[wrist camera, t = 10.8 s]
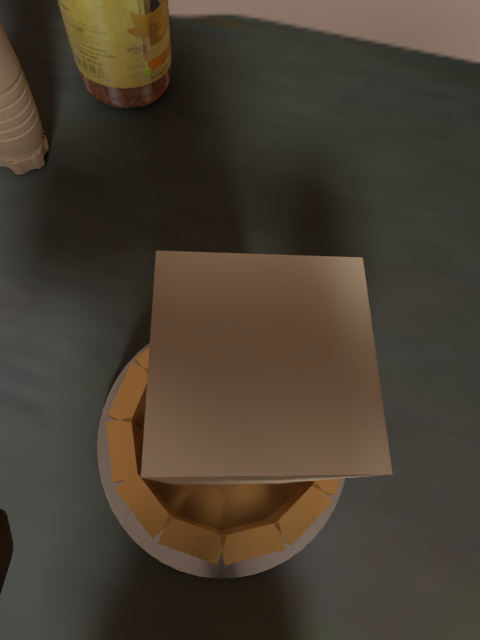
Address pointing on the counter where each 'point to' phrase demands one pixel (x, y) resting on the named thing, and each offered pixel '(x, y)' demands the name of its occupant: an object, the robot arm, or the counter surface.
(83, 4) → the sauce bottle
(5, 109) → the handle
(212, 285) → the post
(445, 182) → the counter surface
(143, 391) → the segmented gold bowl
